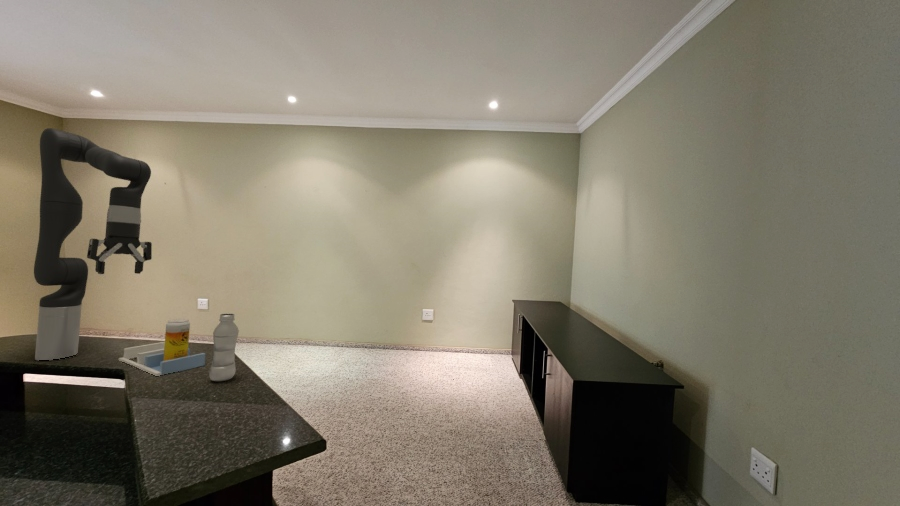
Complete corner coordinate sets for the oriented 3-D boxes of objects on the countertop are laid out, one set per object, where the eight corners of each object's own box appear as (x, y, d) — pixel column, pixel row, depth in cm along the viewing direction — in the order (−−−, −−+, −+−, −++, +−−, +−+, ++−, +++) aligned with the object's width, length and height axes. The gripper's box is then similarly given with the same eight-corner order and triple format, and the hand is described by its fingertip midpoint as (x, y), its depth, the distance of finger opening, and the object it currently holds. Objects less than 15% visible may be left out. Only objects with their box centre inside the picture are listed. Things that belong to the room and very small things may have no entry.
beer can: (176, 369, 106) (179, 322, 106) (157, 368, 106) (161, 321, 106) (191, 363, 112) (194, 319, 112) (173, 362, 112) (177, 318, 112)
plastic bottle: (204, 380, 100) (209, 314, 100) (227, 374, 106) (232, 311, 106) (215, 385, 97) (221, 317, 97) (239, 379, 103) (244, 314, 103)
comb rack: (118, 361, 110) (119, 349, 111) (165, 352, 122) (166, 341, 122) (156, 376, 100) (157, 363, 100) (204, 365, 112) (205, 353, 112)
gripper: (146, 224, 111) (142, 272, 111) (86, 218, 98) (81, 273, 98) (158, 224, 108) (154, 274, 107) (97, 218, 95) (92, 275, 95)
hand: (119, 273), depth 103 cm, fingers open, 8 cm apart
